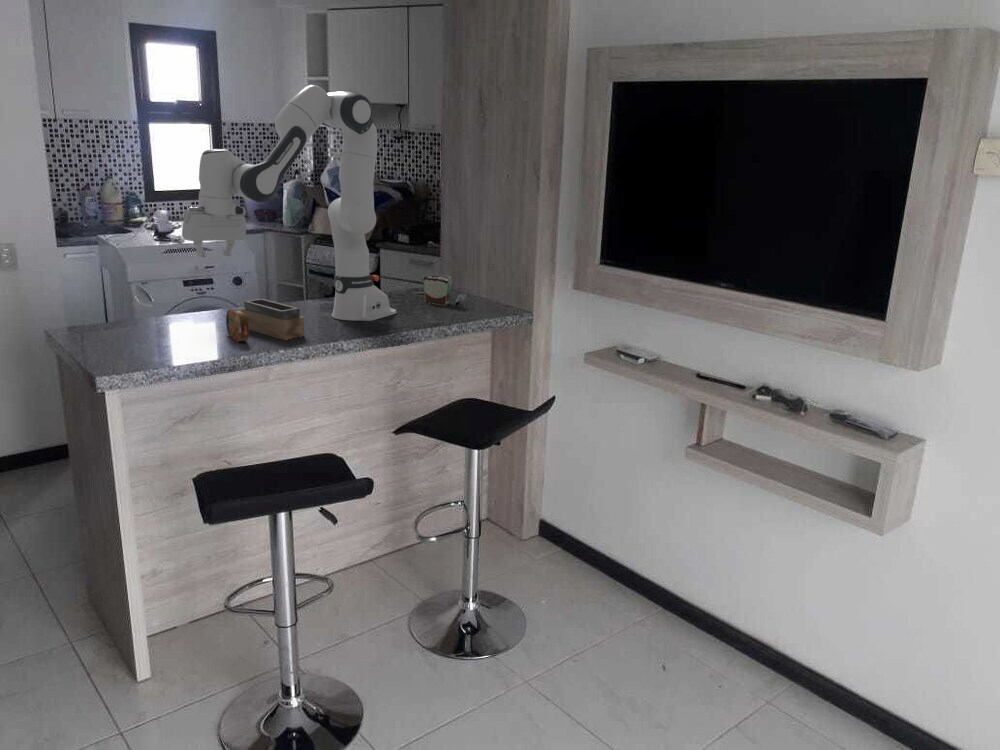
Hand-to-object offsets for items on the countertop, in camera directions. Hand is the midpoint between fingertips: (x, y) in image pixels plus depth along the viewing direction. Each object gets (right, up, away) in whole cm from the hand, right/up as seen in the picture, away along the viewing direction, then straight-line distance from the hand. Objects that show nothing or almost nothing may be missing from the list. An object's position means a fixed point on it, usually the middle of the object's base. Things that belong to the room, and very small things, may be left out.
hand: (214, 256), depth 232 cm
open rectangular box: (+12, -21, +16) cm, 29 cm away
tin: (+5, -24, +7) cm, 25 cm away
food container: (+60, -8, +65) cm, 89 cm away
